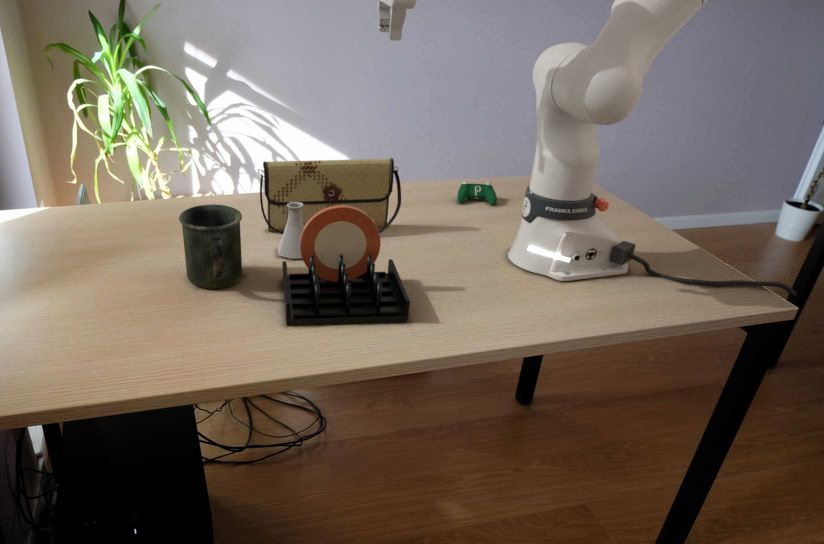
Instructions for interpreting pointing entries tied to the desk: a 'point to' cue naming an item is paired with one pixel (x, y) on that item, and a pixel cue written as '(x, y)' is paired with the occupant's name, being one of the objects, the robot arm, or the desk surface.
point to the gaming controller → (477, 192)
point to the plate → (340, 241)
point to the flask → (292, 232)
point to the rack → (345, 297)
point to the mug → (212, 245)
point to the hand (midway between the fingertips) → (389, 35)
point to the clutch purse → (328, 188)
